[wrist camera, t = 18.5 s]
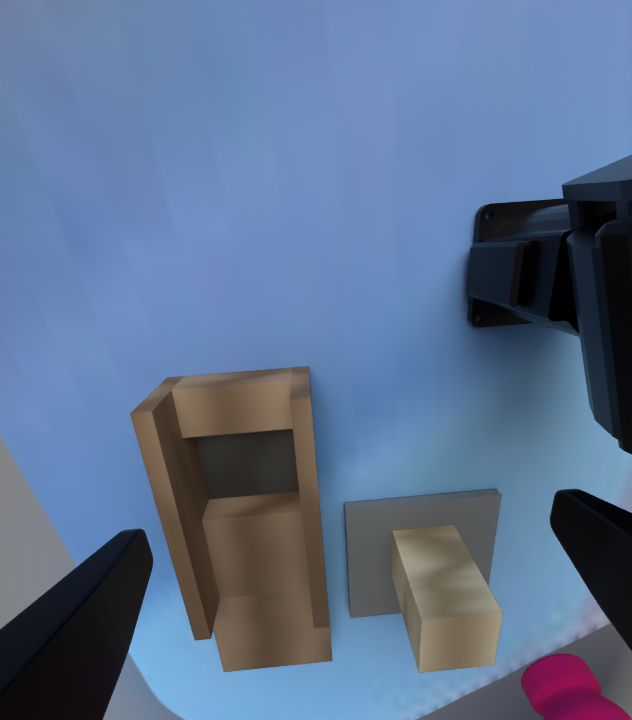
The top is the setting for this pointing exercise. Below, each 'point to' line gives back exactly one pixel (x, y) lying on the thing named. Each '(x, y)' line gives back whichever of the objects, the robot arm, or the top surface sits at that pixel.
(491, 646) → the maple block
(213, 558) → the walnut trough
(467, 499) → the slate pad
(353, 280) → the top surface
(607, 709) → the pepper mill
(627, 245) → the robot arm
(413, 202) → the top surface
